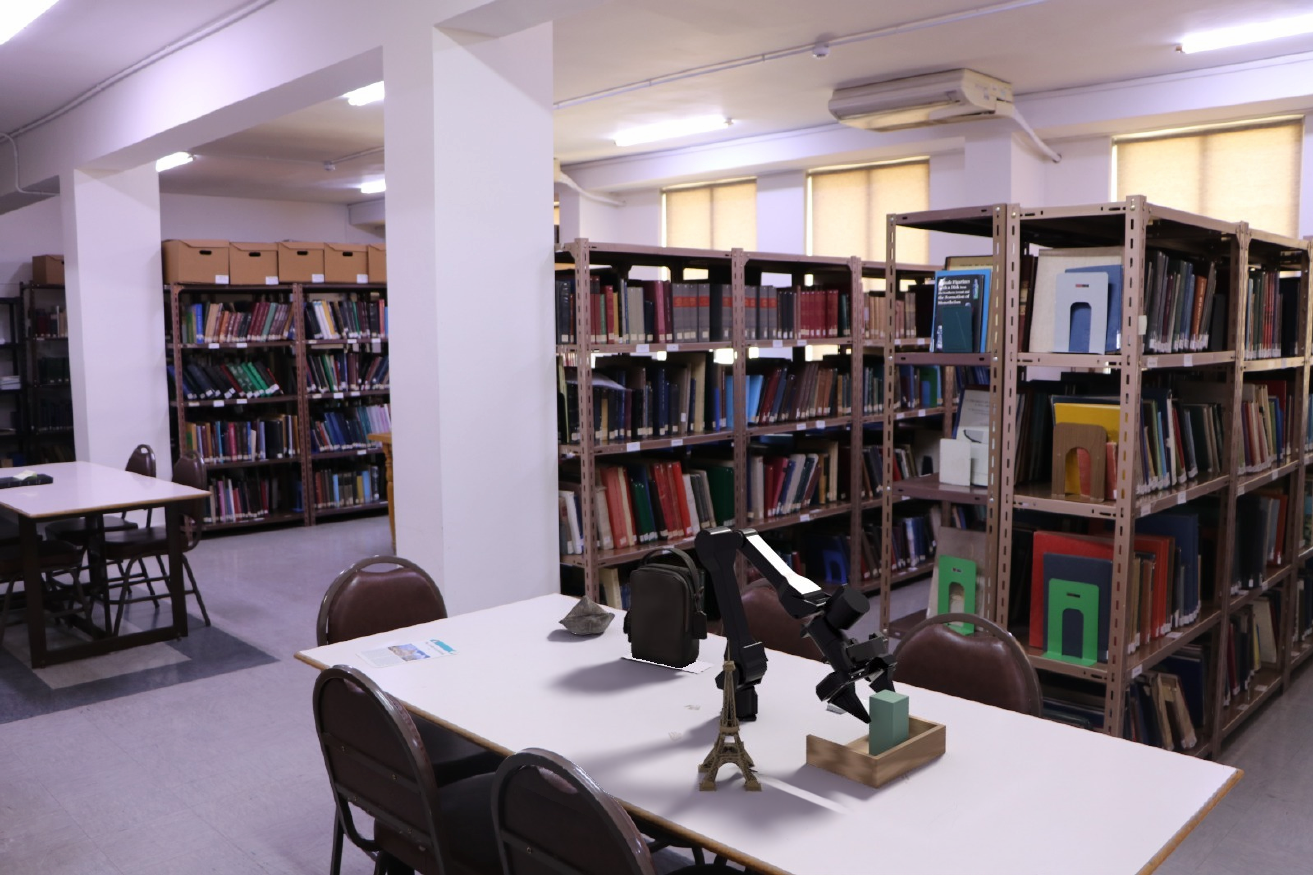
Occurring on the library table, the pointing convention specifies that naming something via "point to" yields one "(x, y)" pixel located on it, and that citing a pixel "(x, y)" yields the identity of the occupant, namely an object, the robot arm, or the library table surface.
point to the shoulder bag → (665, 612)
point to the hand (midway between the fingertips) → (884, 716)
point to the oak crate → (886, 766)
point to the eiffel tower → (728, 750)
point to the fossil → (587, 617)
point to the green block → (887, 721)
